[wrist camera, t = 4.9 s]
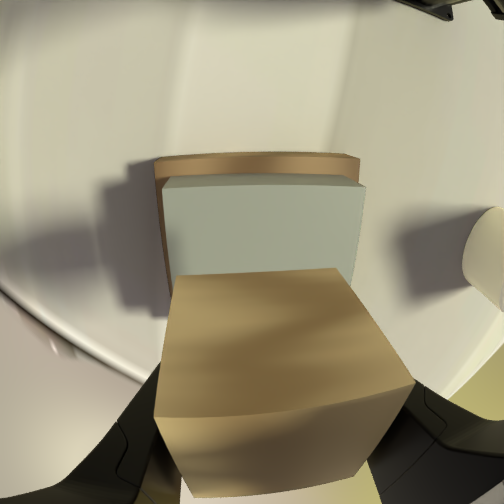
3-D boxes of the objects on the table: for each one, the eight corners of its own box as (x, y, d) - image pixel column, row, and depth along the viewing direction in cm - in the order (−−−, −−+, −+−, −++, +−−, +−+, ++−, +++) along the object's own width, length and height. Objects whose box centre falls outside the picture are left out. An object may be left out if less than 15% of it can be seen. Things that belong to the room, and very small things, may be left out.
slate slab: (343, 175, 17) (366, 187, 14) (324, 312, 21) (338, 339, 19) (170, 176, 16) (161, 188, 13) (185, 321, 20) (183, 351, 17)
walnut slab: (340, 152, 19) (359, 159, 17) (326, 299, 24) (338, 320, 22) (162, 156, 18) (153, 162, 15) (180, 310, 23) (177, 334, 21)
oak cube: (335, 267, 9) (415, 382, 5) (315, 373, 12) (353, 476, 7) (176, 275, 9) (153, 417, 4) (193, 383, 11) (194, 497, 6)
